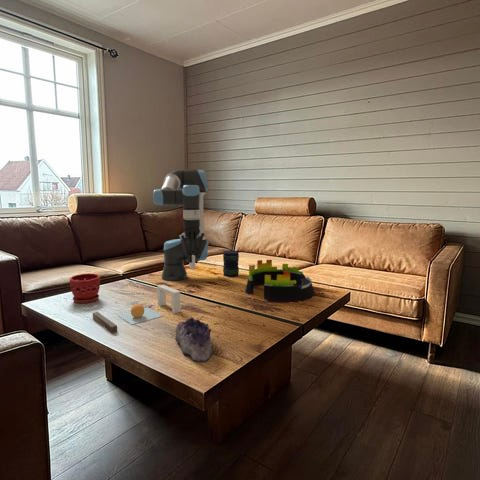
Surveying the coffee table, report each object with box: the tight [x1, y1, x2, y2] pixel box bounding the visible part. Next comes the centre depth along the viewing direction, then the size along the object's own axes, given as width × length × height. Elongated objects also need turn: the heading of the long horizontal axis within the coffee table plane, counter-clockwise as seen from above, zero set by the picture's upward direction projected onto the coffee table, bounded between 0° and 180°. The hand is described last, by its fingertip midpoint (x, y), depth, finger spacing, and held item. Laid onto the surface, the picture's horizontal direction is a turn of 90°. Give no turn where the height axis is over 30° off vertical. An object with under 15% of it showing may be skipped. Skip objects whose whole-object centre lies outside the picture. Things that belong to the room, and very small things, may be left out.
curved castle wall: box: [244, 259, 316, 304], centre depth 180 cm, size 37×37×15 cm
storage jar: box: [222, 250, 240, 278], centre depth 214 cm, size 10×10×15 cm
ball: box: [130, 303, 145, 318], centre depth 143 cm, size 6×6×6 cm
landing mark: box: [117, 307, 163, 326], centre depth 145 cm, size 14×14×1 cm
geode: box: [174, 317, 213, 363], centre depth 114 cm, size 20×12×10 cm, turn 25°
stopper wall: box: [92, 311, 118, 334], centre depth 135 cm, size 2×20×2 cm, turn 42°
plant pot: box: [69, 273, 101, 304], centre depth 164 cm, size 13×13×12 cm
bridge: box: [157, 284, 182, 314], centre depth 154 cm, size 3×14×9 cm, turn 42°
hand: (192, 269), depth 161 cm, fingers closed
